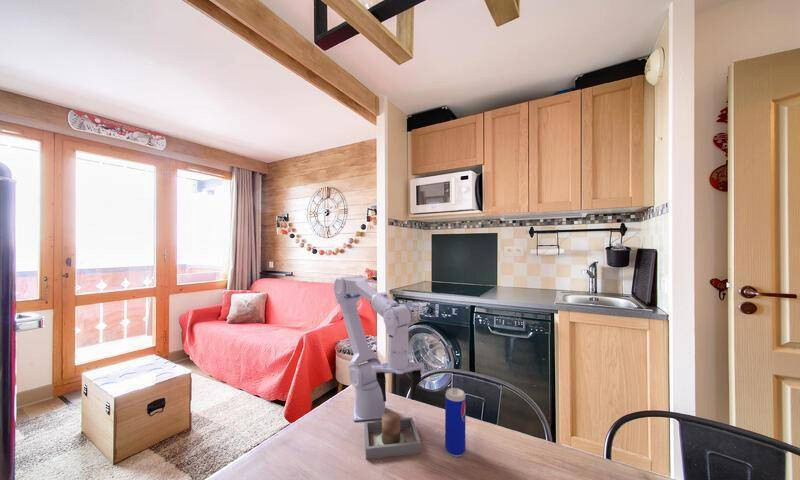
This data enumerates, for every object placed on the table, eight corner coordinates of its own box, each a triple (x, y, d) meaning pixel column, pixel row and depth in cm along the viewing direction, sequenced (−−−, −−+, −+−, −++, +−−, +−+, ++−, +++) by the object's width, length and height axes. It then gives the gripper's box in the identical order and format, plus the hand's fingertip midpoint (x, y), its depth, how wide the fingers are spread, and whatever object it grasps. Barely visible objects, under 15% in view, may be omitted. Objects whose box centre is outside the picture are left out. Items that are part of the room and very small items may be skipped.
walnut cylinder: (398, 432, 80) (398, 411, 80) (401, 445, 75) (401, 422, 75) (380, 434, 79) (380, 413, 79) (383, 447, 74) (383, 424, 75)
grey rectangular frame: (412, 425, 84) (412, 417, 84) (420, 452, 73) (420, 443, 73) (364, 430, 82) (364, 421, 82) (365, 459, 71) (365, 449, 71)
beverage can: (465, 459, 71) (465, 398, 71) (444, 456, 72) (444, 396, 72) (465, 445, 76) (465, 388, 76) (445, 442, 77) (445, 386, 77)
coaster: (402, 430, 82) (402, 429, 82) (407, 449, 74) (407, 448, 74) (375, 433, 81) (375, 431, 81) (378, 452, 73) (378, 451, 73)
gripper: (372, 356, 75) (372, 408, 75) (426, 353, 77) (427, 404, 76) (372, 346, 82) (372, 394, 82) (421, 344, 84) (422, 391, 83)
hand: (398, 398), depth 79 cm, fingers open, 7 cm apart
